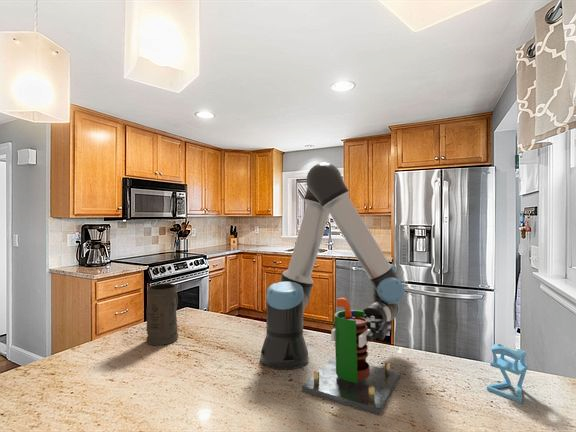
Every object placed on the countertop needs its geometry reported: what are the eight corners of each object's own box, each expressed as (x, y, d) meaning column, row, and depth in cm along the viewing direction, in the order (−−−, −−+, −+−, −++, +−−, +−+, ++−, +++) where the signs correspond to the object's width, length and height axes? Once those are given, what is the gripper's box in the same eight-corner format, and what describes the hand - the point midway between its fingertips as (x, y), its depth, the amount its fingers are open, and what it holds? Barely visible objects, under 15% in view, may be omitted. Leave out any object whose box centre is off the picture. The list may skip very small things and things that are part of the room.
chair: (532, 392, 84) (532, 346, 84) (520, 403, 79) (520, 353, 79) (498, 380, 90) (498, 337, 91) (486, 389, 85) (486, 344, 86)
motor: (370, 383, 82) (366, 303, 82) (334, 381, 84) (331, 303, 84) (369, 366, 92) (365, 294, 92) (337, 364, 94) (333, 294, 94)
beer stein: (171, 346, 112) (172, 288, 113) (140, 346, 113) (141, 288, 113) (185, 331, 128) (186, 280, 128) (158, 331, 128) (159, 280, 128)
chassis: (301, 391, 84) (302, 374, 84) (333, 361, 102) (333, 347, 102) (380, 415, 73) (380, 395, 74) (399, 377, 92) (399, 361, 92)
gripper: (407, 335, 97) (384, 362, 78) (346, 323, 108) (312, 345, 89) (407, 309, 97) (384, 331, 78) (346, 300, 108) (312, 317, 89)
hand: (346, 338), depth 84 cm, fingers closed on motor, 7 cm apart
